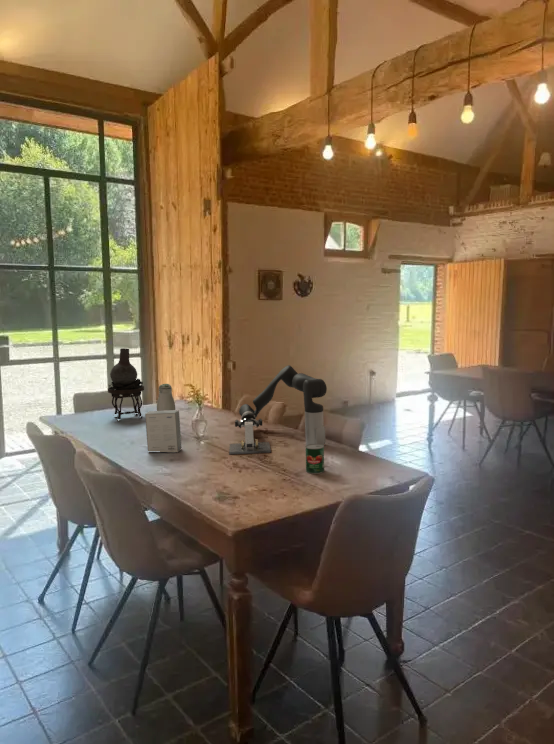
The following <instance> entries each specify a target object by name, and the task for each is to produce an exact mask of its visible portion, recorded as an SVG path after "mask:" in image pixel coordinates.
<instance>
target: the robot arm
mask: <svg viewBox="0 0 554 744" xmlns="http://www.w3.org/2000/svg"><path fill="white" fill-rule="evenodd" d="M280 381H282V382H283V383H284V384H285V385H286V386H287V387H288V388H294V389H295V390H297V391H298V392H302V393H303V406H304V425H305V427H304V431H305V446H306V445H309V444H322V445H324V444H325V445H326V426H324V422H325V421H324V406H323V405H322V404H320V403H316V402H314V400H313V399H314V398H315V399H317V398H322V397H324V396H325V395H326V393H327V391H328V388H327V384H326V382H325V381H324V379H322V378H316V377H312V376H311V375H308V374H305V373H302V372H301V373H298V372H297V371H296V369H295V368H294V367H292V366H291V365H290V364H289V365H286V366H284V367H283V368H281V370H280V371H279V372H278V373H277V374H276V375H275V377H274V378H273V379H272V380H271V381H270V382H269V383H268V385H267V386H266V387H265V388H264V389H263V390H262V392H260V393H259V394H258V395H257V396H256V397H255V398H253V400H252V404H253V406H254V407H255V409H253V408H252V407H251V405H249V404H248V403H244V404H241V406H240V408H239V410H238V414H239V415H240V417H241V419H240V420H238V419H235V421H234V427H235V428H237V427H238V428H239V429H242V427H243V428H245V422H253V427H256V428H259V427H261V426H263V419H262V418H258V420H257V417H258V416H259V414H260V412H261V411H262V410H263V408H265V406H267V405H268V404H269V403H270V402H271V401H272V399H273V397H274V394H275V391H276V388H277V385H278V384H279V383H280ZM325 445H324V446H325Z"/></svg>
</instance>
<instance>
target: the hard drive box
mask: <svg viewBox="0 0 554 744" xmlns="http://www.w3.org/2000/svg"><path fill="white" fill-rule="evenodd" d="M144 418H145V429H146V430H145V431H146V440H147V442H146V443H147V444H146V445H147V452H148V451H160V452H177V453H179V452H180V451H181V450H182V449H181V448H182V436H181V435H182V434H181V422H180V410H178V409H177V410H176V409H175V410H171V411H157V410H149V411H148V412H146V413H145V414H144ZM180 449H181V450H180ZM179 450H180V451H179ZM178 451H179V452H178Z"/></svg>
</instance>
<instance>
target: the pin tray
mask: <svg viewBox="0 0 554 744" xmlns="http://www.w3.org/2000/svg"><path fill="white" fill-rule="evenodd" d="M254 440H255V441H254V448H248V449H246V446H245V442H244V441H245V439H242V440H241V442H240V443H239V442H238V443H230V444H229V447H228V448H229V449H228V450H229V453H228V454H229V455H243V454H244V455H250V454H251V455H252V454H267V453H268V454H269V453H272V449H271V444H270V441H263V442H260V441H259V440H258V438H257V439H256V438H255V439H254Z"/></svg>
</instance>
